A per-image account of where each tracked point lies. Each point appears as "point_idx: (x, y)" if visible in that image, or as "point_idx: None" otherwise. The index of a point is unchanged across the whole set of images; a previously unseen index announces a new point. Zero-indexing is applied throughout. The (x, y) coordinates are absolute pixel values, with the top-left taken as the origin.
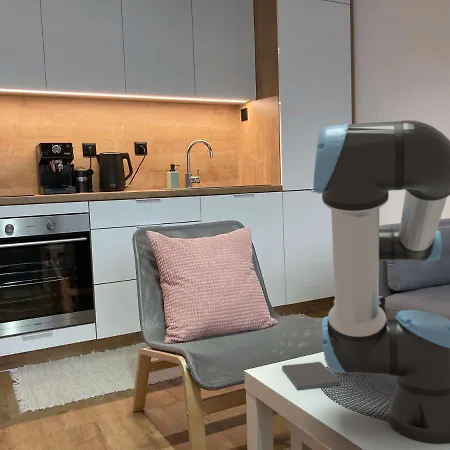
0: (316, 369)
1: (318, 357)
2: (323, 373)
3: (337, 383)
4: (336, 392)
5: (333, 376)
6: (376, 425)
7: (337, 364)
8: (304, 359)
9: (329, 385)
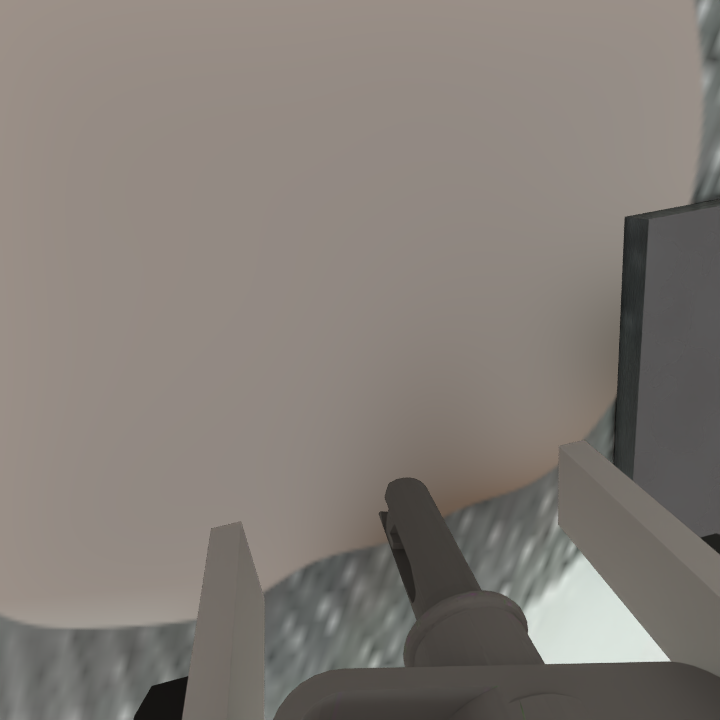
0: (708, 464)
1: None
2: (695, 393)
3: (660, 213)
4: (707, 73)
5: (653, 331)
6: None
7: None
8: (660, 649)
9: (716, 201)
